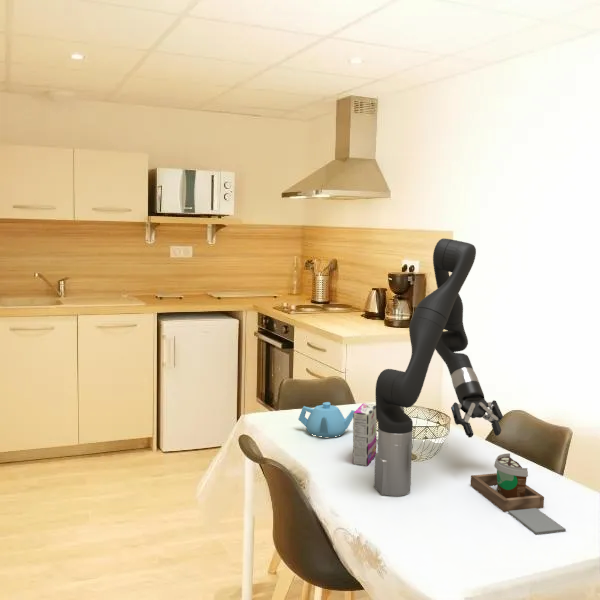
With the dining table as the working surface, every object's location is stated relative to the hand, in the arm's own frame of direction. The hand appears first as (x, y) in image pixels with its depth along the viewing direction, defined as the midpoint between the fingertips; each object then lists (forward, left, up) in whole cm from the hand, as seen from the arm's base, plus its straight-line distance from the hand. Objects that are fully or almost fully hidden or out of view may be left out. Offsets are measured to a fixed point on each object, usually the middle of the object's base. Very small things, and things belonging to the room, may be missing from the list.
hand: (484, 435), depth 187 cm
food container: (0, -12, -13) cm, 18 cm away
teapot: (-32, +51, -13) cm, 61 cm away
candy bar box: (-28, +23, -13) cm, 38 cm away
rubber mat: (-1, -28, -13) cm, 30 cm away
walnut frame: (0, -12, -13) cm, 18 cm away
